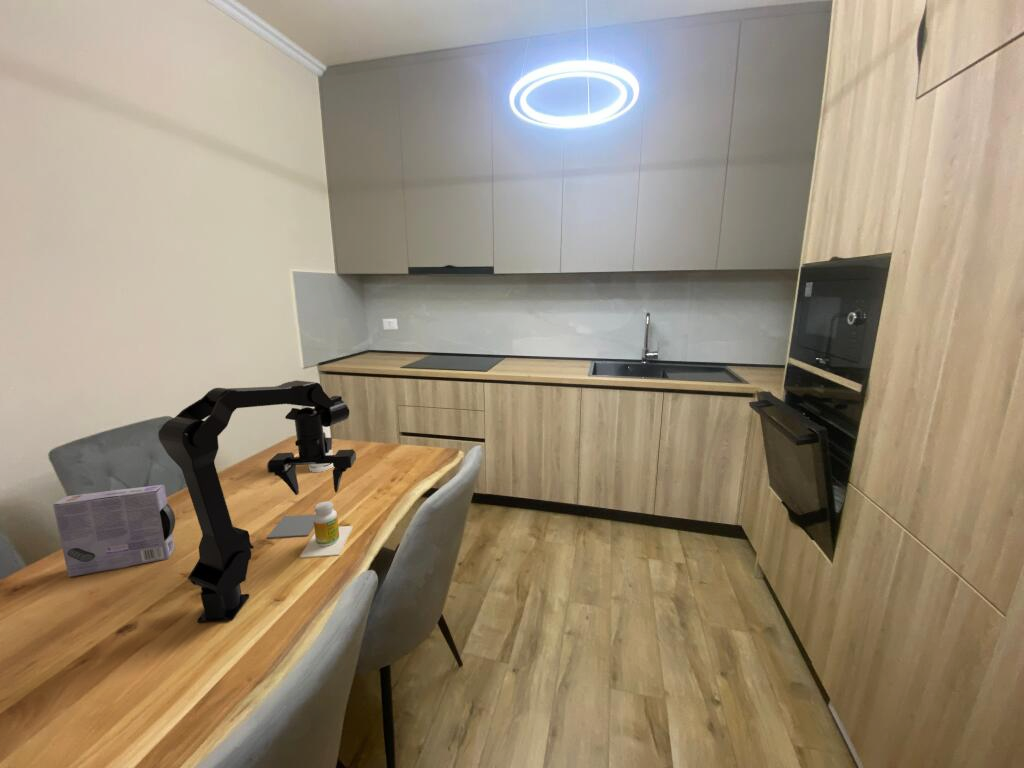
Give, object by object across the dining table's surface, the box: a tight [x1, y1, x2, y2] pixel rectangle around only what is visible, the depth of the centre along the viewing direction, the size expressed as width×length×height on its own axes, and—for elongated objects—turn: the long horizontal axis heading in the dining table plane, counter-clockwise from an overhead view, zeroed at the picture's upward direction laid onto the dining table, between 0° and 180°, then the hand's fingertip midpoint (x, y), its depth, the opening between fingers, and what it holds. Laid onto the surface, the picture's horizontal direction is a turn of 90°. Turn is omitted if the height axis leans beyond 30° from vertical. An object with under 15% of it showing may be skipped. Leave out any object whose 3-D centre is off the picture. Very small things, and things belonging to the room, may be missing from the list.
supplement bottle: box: [313, 501, 339, 546], centre depth 101 cm, size 5×5×10 cm
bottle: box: [301, 406, 334, 473], centre depth 142 cm, size 8×8×28 cm
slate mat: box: [266, 513, 316, 540], centre depth 109 cm, size 10×10×1 cm
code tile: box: [299, 525, 354, 559], centre depth 102 cm, size 12×9×1 cm
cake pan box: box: [52, 484, 176, 578], centre depth 93 cm, size 19×5×18 cm, turn 111°
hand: (317, 492), depth 100 cm, fingers open, 9 cm apart
